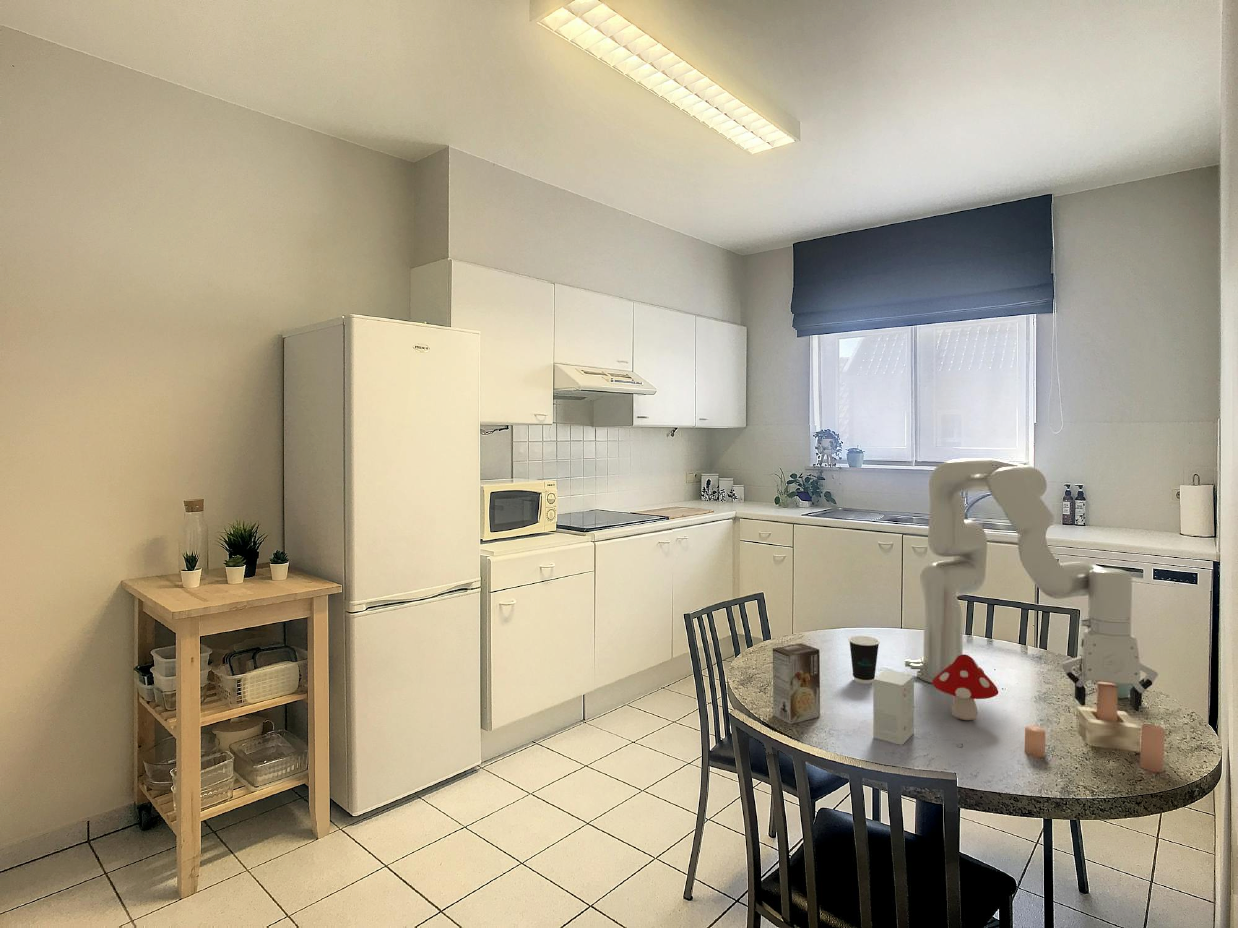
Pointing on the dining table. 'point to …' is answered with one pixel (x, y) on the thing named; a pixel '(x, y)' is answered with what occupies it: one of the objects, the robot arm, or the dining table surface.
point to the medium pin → (1152, 748)
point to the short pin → (1035, 741)
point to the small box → (893, 706)
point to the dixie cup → (864, 658)
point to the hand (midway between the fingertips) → (1107, 706)
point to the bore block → (1108, 730)
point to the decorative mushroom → (965, 686)
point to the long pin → (1107, 701)
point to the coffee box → (796, 683)
